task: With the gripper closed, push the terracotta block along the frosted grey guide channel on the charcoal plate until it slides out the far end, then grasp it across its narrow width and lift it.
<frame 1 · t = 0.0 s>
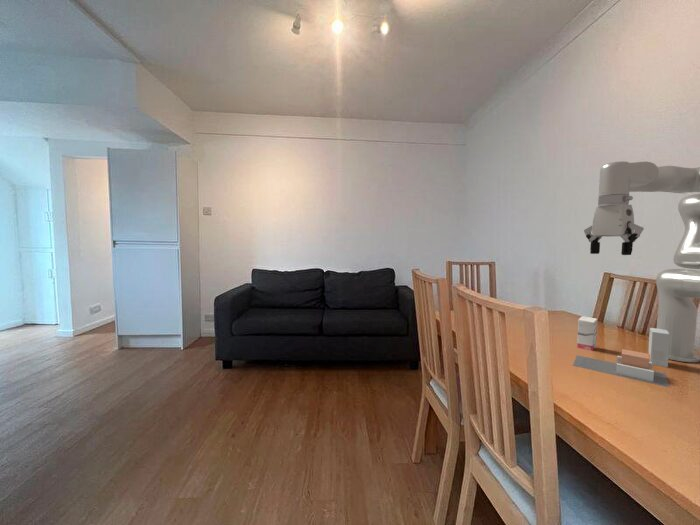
hand: (609, 254, 99), 37 cm above the table, tool pointing down, fingers open, 9 cm apart
channel base: (617, 372, 95), on the table
skincare box: (657, 366, 100), on the table
ink box: (586, 349, 116), on the table
block: (633, 372, 93), point 1 cm above the table, touching channel base
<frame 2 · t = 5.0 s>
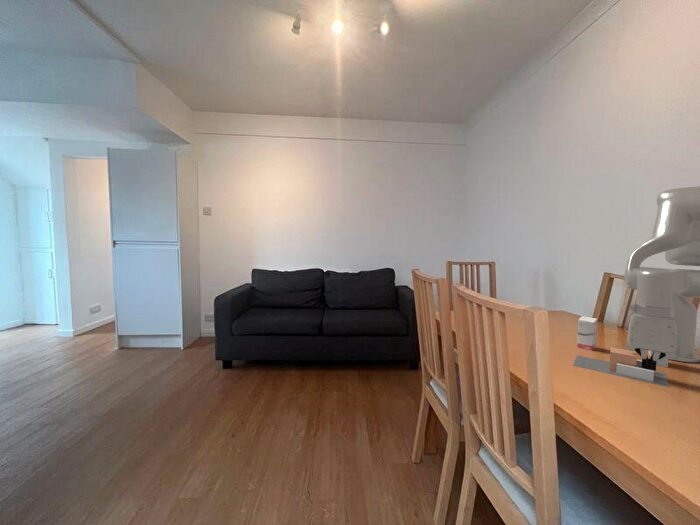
hand: (648, 371, 90), 2 cm above the table, tool pointing down, fingers closed
block: (622, 370, 94), point 1 cm above the table
everything else where it was.
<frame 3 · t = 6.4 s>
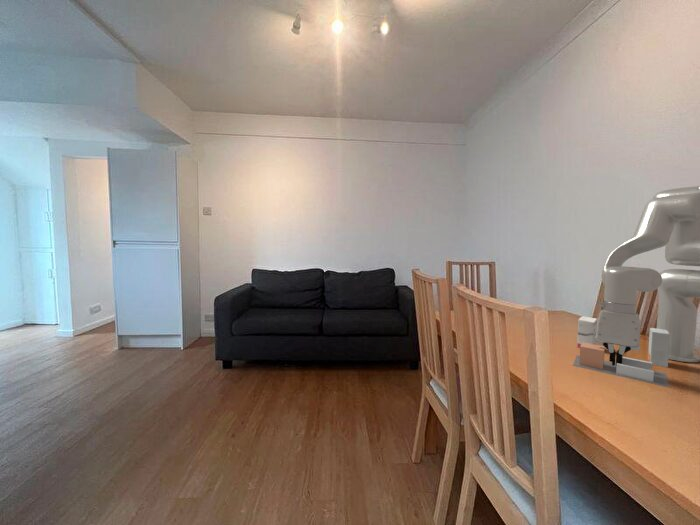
hand: (615, 364, 95), 2 cm above the table, tool pointing down, fingers closed
block: (591, 364, 99), point 1 cm above the table, touching channel base
everything else where it was.
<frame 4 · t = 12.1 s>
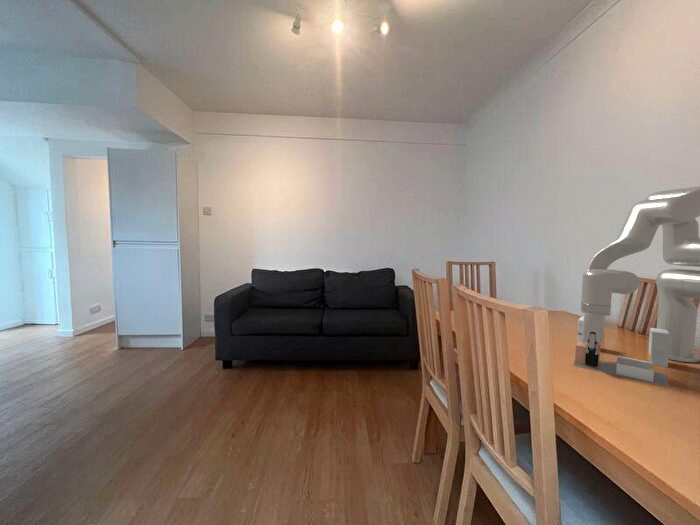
hand: (592, 362, 99), 2 cm above the table, tool pointing down, fingers closed on block, 5 cm apart
block: (587, 362, 100), point 1 cm above the table, touching channel base, gripper
everything else where it was.
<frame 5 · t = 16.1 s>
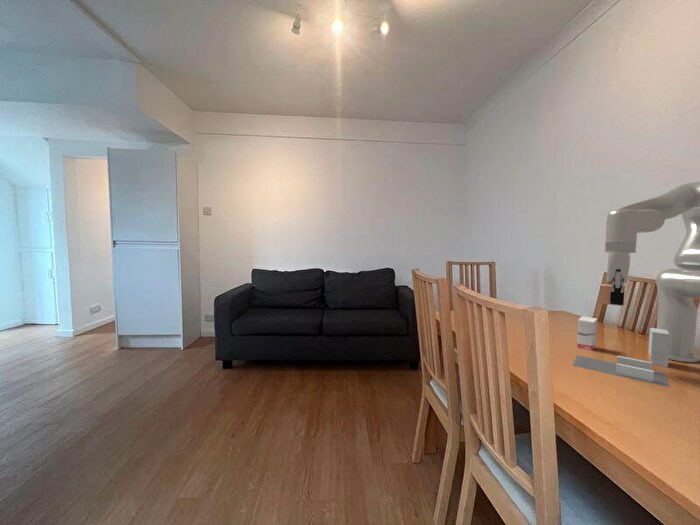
hand: (616, 302, 99), 21 cm above the table, tool pointing down, fingers closed on block, 5 cm apart
block: (611, 303, 100), point 21 cm above the table, touching gripper
everything else where it was.
at the end: the gripper is holding block; block point 20.9 cm above the table; block moved 21.7 cm from its start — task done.
